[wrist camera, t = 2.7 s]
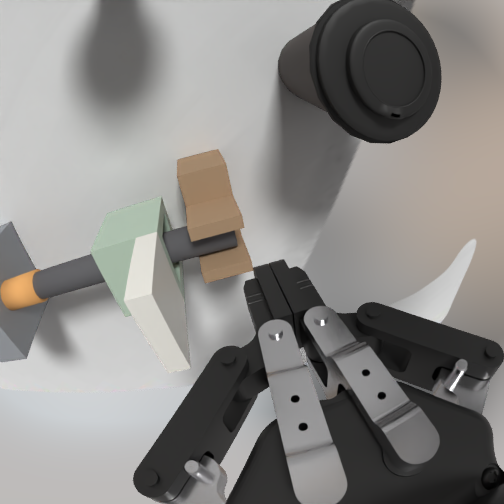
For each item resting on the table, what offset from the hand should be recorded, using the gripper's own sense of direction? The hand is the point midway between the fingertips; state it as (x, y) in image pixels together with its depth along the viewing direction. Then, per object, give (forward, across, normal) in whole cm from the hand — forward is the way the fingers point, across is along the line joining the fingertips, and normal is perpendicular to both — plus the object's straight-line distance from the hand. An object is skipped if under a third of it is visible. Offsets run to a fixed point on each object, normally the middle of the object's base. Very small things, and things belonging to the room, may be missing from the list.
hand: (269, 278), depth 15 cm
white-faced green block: (+8, +7, 0) cm, 10 cm away
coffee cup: (+10, -8, -9) cm, 16 cm away
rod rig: (+10, +11, 0) cm, 15 cm away
